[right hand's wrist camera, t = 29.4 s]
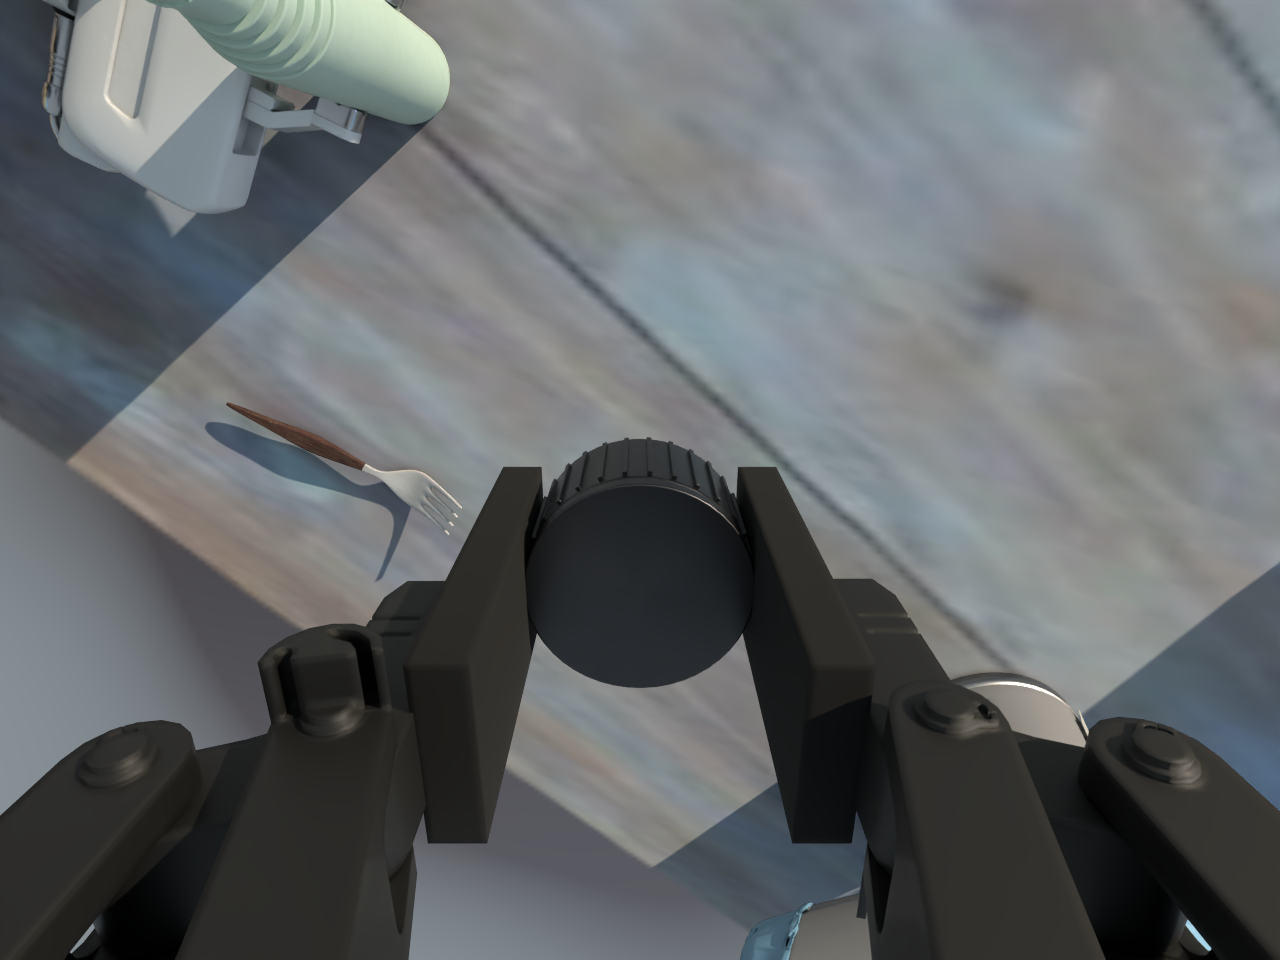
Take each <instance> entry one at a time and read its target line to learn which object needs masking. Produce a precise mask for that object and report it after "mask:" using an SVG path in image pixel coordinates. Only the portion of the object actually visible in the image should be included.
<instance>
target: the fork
mask: <svg viewBox="0 0 1280 960" xmlns="http://www.w3.org/2000/svg"><path fill="white" fill-rule="evenodd" d="M226 405H227V406H229V407H230V408H232V409H233V410H235V411H237V412H238V413H240V414H242V415H244V416H246V417H247V418H249V419H251V420H253V421H255V422H256V423H258V424H260V425H262V426H264V427H265V428H267V429H269V430H271V431H273V432H274V433H276V434H278V435H280V436H281V437H283V438H285V439H287V440H288V441H290V442H292V443H294V444H295V445H297V446H299V447H301V448H303V449H305V450H307V451H309V452H311V453H314V454H316V455H319V456H322V457H324V458H327V459H330V460H333V461H336V462H339V463H341V464H344V465H347V466H350V467H353V468H356V469H359V470H362V471H364V472H367V473H370V474H372V475H374V476H376V477H378V478H379V479H381V480H382V481H383V482H384V483H385V484H386V485H387V486H388V487H389V488H390V489H391V490H392V491H393V492H394V493H395V494H396V495H397V496H398V497H399V498H400V499H401V500H402V501H404V502H405V503H406V504H408V505H409V506H411V507H412V508H414V509H415V510H417V511H419V512H420V513H422V514H423V515H424V516H426V517H427V518H428V519H429V520H431V521H432V522H433V523H434V524H436V525H437V526H438V527H439V528H441V529H442V530H443V531H444V532H445V533H446V534H447V535H449V533H448V532H447V531H446V530H445V529H444V528H443V527H442V525H441V524H440V523H439V522H438V521H437V520H436V519H434V518H433V517H432V516H431V515H430V514H429V513H428V512H427V511H426V510H425V509H424V507H423V505H426V506H428V507H429V508H430V509H432V510H433V511H434V512H436V513H437V514H438V515H439V516H441V517H442V518H443V519H444V520H445V521H447V522H448V523H449V524H450V525H451V526H454V525H453V524H452V523H451V522H450V521H449V520H448V519H447V518H446V517H445V516H444V515H443V514H442V513H441V512H440V511H439V510H438V509H437V508H436V507H435V506H434V505H433V504H432V503H431V502H430V501H429V500H428V499H427V496H429V497H431V498H433V499H434V500H435V501H437V502H438V503H439V504H441V505H442V506H443V507H444V508H446V509H447V510H448V511H449V512H450V513H452V514H453V515H454V516H455V517H458V516H457V515H456V514H455V513H454V512H453V511H452V510H451V509H450V508H449V507H448V506H447V505H446V504H445V503H444V502H443V501H442V500H441V499H440V498H439V497H438V496H437V495H436V494H435V493H434V492H433V491H432V490H431V488H432V487H433V488H435V489H436V490H438V491H439V492H440V493H442V494H443V495H444V496H446V497H447V498H448V499H449V500H451V501H452V502H453V503H454V504H456V505H457V506H458V507H459V508H460V509H462V507H461V506H460V505H459V504H458V503H457V502H456V501H455V500H454V499H453V498H452V497H451V496H450V495H449V494H448V493H447V492H446V491H445V490H444V489H443V488H442V487H440V486H439V485H438V484H437V483H436V482H435V481H434V480H432V479H431V478H430V477H429V476H427V475H426V474H424V473H422V472H420V471H416V470H400V471H390V472H384V471H379V470H376V469H374V468H372V467H370V466H369V465H367V464H365V463H364V462H362V461H360V460H359V459H357V458H355V457H354V456H352V455H350V454H349V453H347V452H345V451H344V450H342V449H340V448H339V447H337V446H335V445H334V444H332V443H330V442H328V441H326V440H325V439H323V438H321V437H319V436H317V435H314V434H312V433H310V432H307V431H304V430H302V429H299V428H296V427H293V426H290V425H287V424H285V423H282V422H279V421H276V420H274V419H271V418H269V417H266V416H264V415H261V414H258V413H256V412H253V411H251V410H248V409H246V408H243V407H240V406H237V405H235V404H232V403H228V402H227V404H226Z"/></svg>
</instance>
